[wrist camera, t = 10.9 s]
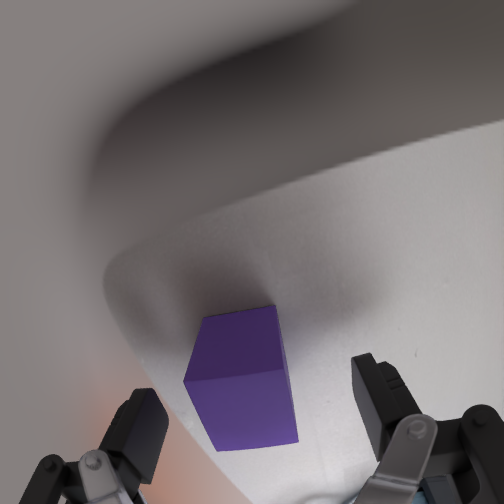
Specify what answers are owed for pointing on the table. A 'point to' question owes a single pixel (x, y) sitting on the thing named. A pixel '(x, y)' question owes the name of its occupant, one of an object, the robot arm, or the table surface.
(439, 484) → the cabinet
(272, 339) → the block
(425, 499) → the drawer
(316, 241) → the table surface
